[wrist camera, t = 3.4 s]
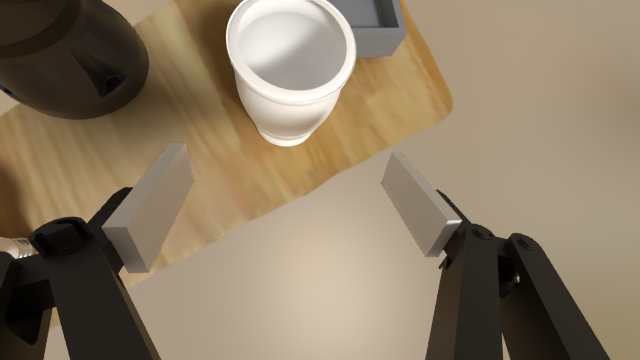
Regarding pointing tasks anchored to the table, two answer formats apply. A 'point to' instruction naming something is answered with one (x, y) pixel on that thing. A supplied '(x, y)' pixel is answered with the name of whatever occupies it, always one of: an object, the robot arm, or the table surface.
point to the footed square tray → (373, 25)
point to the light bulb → (17, 247)
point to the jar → (289, 64)
